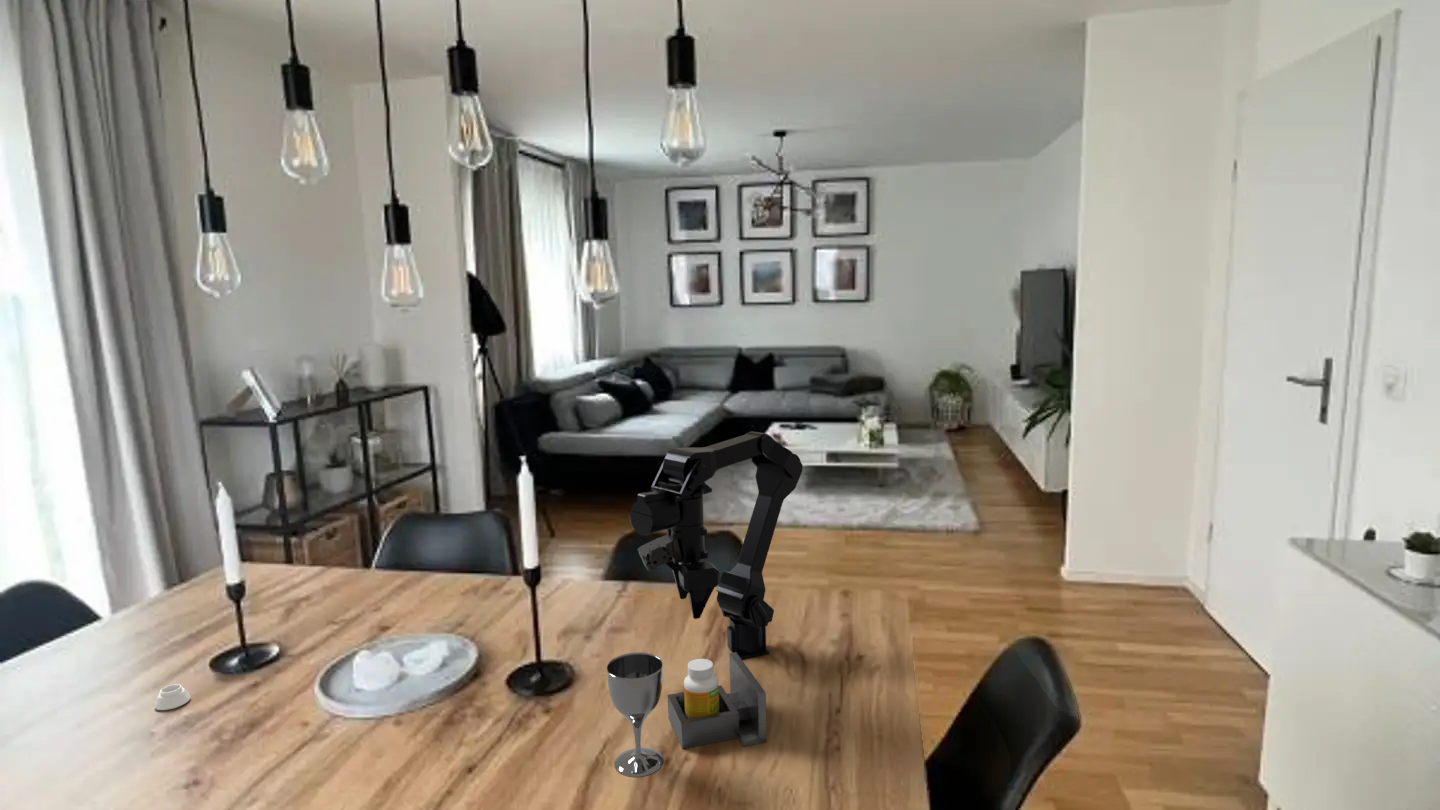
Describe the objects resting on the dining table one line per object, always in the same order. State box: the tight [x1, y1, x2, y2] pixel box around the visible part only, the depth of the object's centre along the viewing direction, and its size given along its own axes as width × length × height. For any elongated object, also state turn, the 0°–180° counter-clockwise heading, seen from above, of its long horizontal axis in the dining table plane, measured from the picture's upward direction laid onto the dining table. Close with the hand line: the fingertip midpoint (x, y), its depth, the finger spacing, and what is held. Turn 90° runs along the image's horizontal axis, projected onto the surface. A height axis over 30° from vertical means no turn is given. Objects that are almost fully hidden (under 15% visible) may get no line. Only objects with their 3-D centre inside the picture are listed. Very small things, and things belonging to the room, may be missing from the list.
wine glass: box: [606, 652, 664, 778], centre depth 112 cm, size 8×8×15 cm
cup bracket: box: [667, 652, 767, 750], centre depth 121 cm, size 12×14×8 cm
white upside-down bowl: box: [153, 683, 191, 711], centre depth 133 cm, size 5×3×5 cm
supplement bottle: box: [683, 658, 720, 719], centre depth 121 cm, size 5×5×10 cm
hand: (689, 608), depth 136 cm, fingers open, 9 cm apart
